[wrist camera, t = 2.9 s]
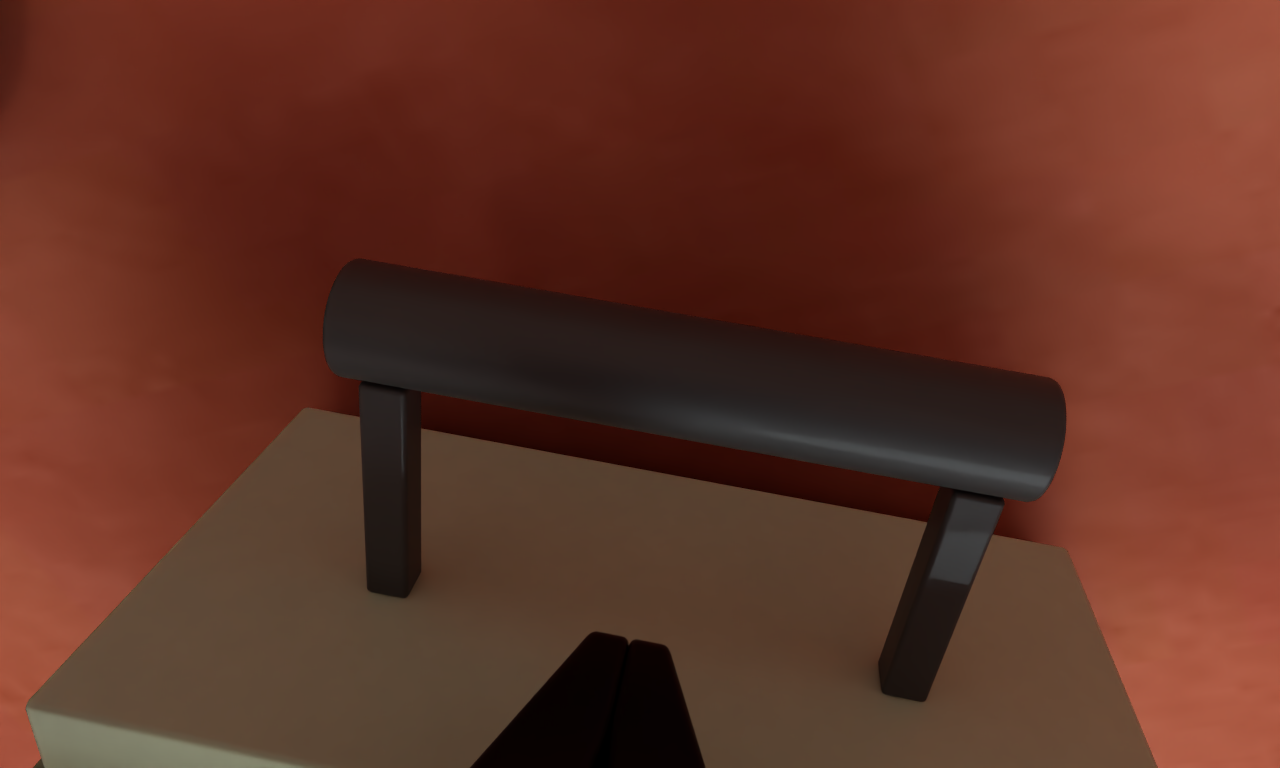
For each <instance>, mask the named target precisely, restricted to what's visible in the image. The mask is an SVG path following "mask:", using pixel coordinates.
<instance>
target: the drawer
mask: <svg viewBox="0 0 1280 768" xmlns="http://www.w3.org/2000/svg"><path fill="white" fill-rule="evenodd" d="M323 348H324V355H325V359H326V362H327V364H328V367H329V368H330V370H331V371H332V372H333V373H335V374H336V375H338V376H340V377H345V378H350V379H356V380H361V381H362V382H361V383H360V385H359V409H360V417H357V416H352V415H346V414H341V413H336V412H330V411H325V410H319V409H314V408H309V407H308V408H304V409H302V410H301V411H300V412H299V413H298V414H297V416H296V417H295V418H294V419H293V420H292V421H291V422H290V423H289V424H288V425H287V426H286V427H285V428H284V429H283V430H282V431H281V433H280V434H279V435H278V436H277V437H276V438H275V439H274V440H273V441H272V442H271V443H270V444H269V445H268V446H267V447H266V448H265V450H264V451H263V452H262V453H261V454H260V455H259V456H258V457H257V458H256V459H255V460H254V461H253V462H252V463H251V464H250V466H249V467H248V468H247V469H246V470H245V471H244V472H243V473H242V474H241V475H240V476H239V477H238V478H237V479H236V480H235V481H234V483H233V484H232V485H231V486H230V487H229V488H228V489H227V490H226V491H225V492H224V493H223V494H222V495H221V496H220V497H219V498H218V500H217V501H216V502H215V503H214V504H213V505H212V506H211V507H210V508H209V509H208V510H207V511H206V512H205V513H204V514H203V515H202V517H201V518H200V519H199V520H198V521H197V522H196V523H195V524H194V525H193V526H192V527H191V528H190V529H189V530H188V531H187V532H186V534H185V535H184V536H183V537H182V538H181V539H180V540H179V541H178V542H177V543H176V544H175V545H174V546H173V547H172V548H171V549H170V551H169V552H168V553H167V554H166V555H165V556H164V557H163V558H162V559H161V560H160V561H159V562H158V563H157V564H156V565H155V567H154V568H153V569H152V570H151V571H150V572H149V573H148V574H147V575H146V576H145V577H144V578H143V579H142V580H141V581H140V582H139V584H138V585H137V586H136V587H135V588H134V589H133V590H132V591H131V592H130V593H129V594H128V595H127V596H126V597H125V598H124V599H123V601H122V602H121V603H120V604H119V605H118V606H117V607H116V608H115V609H114V610H113V611H112V612H111V613H110V614H109V615H108V616H107V618H106V619H105V620H104V621H103V622H102V623H101V624H100V625H99V626H98V627H97V628H96V629H95V630H94V631H93V632H92V633H91V635H90V636H89V637H88V638H87V639H86V640H85V641H84V642H83V643H82V644H81V645H80V646H79V647H78V648H77V649H76V650H75V652H74V653H73V654H72V655H71V656H70V657H69V658H68V659H67V660H66V661H65V662H64V663H63V664H62V665H61V666H60V668H59V669H58V670H57V671H56V672H55V673H54V674H53V675H52V676H51V677H50V678H49V679H48V680H47V681H46V682H45V683H44V685H43V686H42V687H41V688H40V689H39V690H38V691H37V692H36V693H35V694H34V695H33V696H32V697H31V698H30V699H29V701H28V703H27V705H26V712H27V715H28V718H29V721H30V724H31V727H32V731H33V734H34V737H35V740H36V743H37V746H38V749H39V752H40V756H41V759H42V762H43V765H44V767H45V768H470V767H471V766H472V765H473V764H474V762H475V761H476V760H477V759H478V758H479V757H480V756H481V755H482V753H483V752H484V751H485V750H486V749H487V748H488V747H489V746H490V744H491V743H492V742H493V741H494V740H495V739H496V738H497V737H498V735H499V734H500V733H501V732H502V731H503V730H504V729H505V728H506V726H507V725H508V724H509V723H510V722H511V721H512V720H513V719H514V717H515V716H516V715H517V714H518V713H519V712H520V711H521V710H522V708H523V707H524V706H525V705H526V704H527V703H528V702H529V701H530V699H531V698H532V697H533V696H534V695H535V694H536V693H537V692H538V690H539V689H540V688H541V687H542V686H543V685H544V684H545V683H546V681H547V680H548V679H549V678H550V677H551V676H552V675H553V674H554V672H555V671H556V670H557V669H558V668H559V667H560V666H561V665H562V663H563V662H564V661H565V660H566V659H567V658H568V657H569V656H570V654H571V653H572V652H573V651H574V650H575V649H576V648H577V647H578V645H579V644H580V643H581V642H582V641H583V640H584V639H585V638H586V637H587V636H588V635H589V634H590V633H591V632H594V631H598V632H603V633H608V634H613V635H619V636H623V637H625V638H626V639H627V640H628V642H629V644H630V642H631V641H632V640H634V639H639V640H644V641H649V642H654V643H659V644H663V645H666V646H667V647H668V648H669V650H670V652H671V655H672V659H673V662H674V665H675V668H676V672H677V675H678V678H679V682H680V685H681V688H682V691H683V695H684V698H685V701H686V705H687V708H688V711H689V714H690V718H691V721H692V724H693V728H694V731H695V734H696V737H697V741H698V744H699V747H700V751H701V754H702V757H703V761H704V764H705V767H706V768H1158V767H1157V765H1156V762H1155V760H1154V758H1153V755H1152V753H1151V750H1150V748H1149V746H1148V743H1147V741H1146V738H1145V736H1144V734H1143V731H1142V729H1141V726H1140V724H1139V721H1138V719H1137V717H1136V714H1135V712H1134V709H1133V707H1132V705H1131V702H1130V700H1129V697H1128V695H1127V693H1126V690H1125V688H1124V685H1123V683H1122V681H1121V678H1120V676H1119V673H1118V671H1117V668H1116V666H1115V664H1114V661H1113V659H1112V656H1111V654H1110V652H1109V649H1108V647H1107V644H1106V642H1105V640H1104V637H1103V635H1102V632H1101V630H1100V628H1099V625H1098V623H1097V620H1096V618H1095V615H1094V613H1093V611H1092V608H1091V606H1090V603H1089V601H1088V599H1087V596H1086V594H1085V591H1084V589H1083V587H1082V584H1081V582H1080V579H1079V577H1078V575H1077V572H1076V570H1075V567H1074V565H1073V562H1072V560H1071V558H1070V555H1069V553H1068V551H1067V550H1066V549H1065V548H1063V547H1058V546H1052V545H1047V544H1041V543H1036V542H1031V541H1025V540H1020V539H1015V538H1009V537H1004V536H998V535H993V532H994V530H995V527H996V525H997V522H998V520H999V517H1000V515H1001V512H1002V510H1003V507H1004V505H1005V503H1004V499H1003V498H1008V499H1013V500H1018V501H1024V502H1030V501H1035V500H1037V499H1038V498H1040V497H1041V496H1042V495H1043V494H1044V493H1045V491H1046V490H1047V489H1048V487H1049V485H1050V484H1051V482H1052V480H1053V478H1054V476H1055V473H1056V471H1057V468H1058V465H1059V462H1060V459H1061V455H1062V451H1063V446H1064V441H1065V433H1066V403H1065V398H1064V394H1063V391H1062V389H1061V387H1060V385H1059V384H1058V383H1057V382H1056V381H1055V380H1053V379H1052V378H1049V377H1043V376H1038V375H1032V374H1026V373H1020V372H1014V371H1009V370H1003V369H997V368H991V367H986V366H980V365H974V364H968V363H962V362H957V361H951V360H945V359H939V358H933V357H928V356H922V355H916V354H910V353H905V352H899V351H893V350H887V349H881V348H876V347H870V346H864V345H858V344H852V343H847V342H841V341H835V340H829V339H823V338H818V337H812V336H806V335H800V334H795V333H789V332H783V331H777V330H771V329H766V328H760V327H754V326H748V325H742V324H737V323H731V322H725V321H719V320H714V319H708V318H702V317H696V316H690V315H685V314H679V313H673V312H667V311H661V310H656V309H650V308H644V307H638V306H632V305H627V304H621V303H615V302H609V301H604V300H598V299H592V298H586V297H580V296H575V295H569V294H563V293H557V292H551V291H546V290H540V289H534V288H528V287H523V286H517V285H511V284H505V283H499V282H494V281H488V280H482V279H476V278H470V277H465V276H459V275H453V274H447V273H442V272H436V271H430V270H424V269H418V268H413V267H407V266H401V265H395V264H389V263H384V262H378V261H372V260H366V259H354V260H351V261H350V262H348V263H347V264H346V265H345V266H344V267H343V268H342V269H341V271H340V272H339V274H338V275H337V277H336V279H335V281H334V283H333V286H332V288H331V291H330V294H329V297H328V301H327V305H326V310H325V315H324V323H323ZM421 391H422V392H427V393H432V394H438V395H443V396H449V397H454V398H460V399H465V400H471V401H476V402H482V403H487V404H493V405H498V406H504V407H509V408H515V409H520V410H526V411H531V412H537V413H542V414H547V415H553V416H558V417H564V418H569V419H575V420H580V421H586V422H591V423H597V424H602V425H608V426H613V427H619V428H624V429H630V430H635V431H641V432H646V433H652V434H657V435H662V436H668V437H673V438H679V439H684V440H690V441H695V442H701V443H706V444H712V445H717V446H723V447H728V448H734V449H739V450H745V451H750V452H756V453H761V454H767V455H772V456H778V457H783V458H788V459H794V460H799V461H805V462H810V463H816V464H821V465H827V466H832V467H838V468H843V469H849V470H854V471H860V472H865V473H871V474H876V475H882V476H887V477H893V478H898V479H903V480H909V481H914V482H920V483H925V484H931V485H936V486H940V488H939V491H938V494H937V496H936V499H935V502H934V505H933V508H932V511H931V513H930V516H929V519H928V522H923V521H918V520H912V519H907V518H901V517H896V516H891V515H885V514H880V513H874V512H869V511H864V510H858V509H853V508H847V507H842V506H837V505H831V504H826V503H821V502H815V501H810V500H804V499H799V498H794V497H788V496H783V495H777V494H772V493H767V492H761V491H756V490H750V489H745V488H740V487H734V486H729V485H724V484H718V483H713V482H707V481H702V480H697V479H691V478H686V477H680V476H675V475H670V474H664V473H659V472H653V471H648V470H643V469H637V468H632V467H627V466H621V465H616V464H610V463H605V462H600V461H594V460H589V459H583V458H578V457H573V456H567V455H562V454H556V453H551V452H546V451H540V450H535V449H530V448H524V447H519V446H513V445H508V444H503V443H497V442H492V441H486V440H481V439H476V438H470V437H465V436H459V435H454V434H449V433H443V432H438V431H433V430H427V429H422V428H421Z"/></svg>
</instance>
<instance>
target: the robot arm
mask: <svg viewBox="0 0 1280 768" xmlns="http://www.w3.org/2000/svg"><path fill="white" fill-rule="evenodd" d="M470 768H706V767H705V764H704V761H703V757H702V754H701V751H700V747H699V744H698V741H697V737H696V734H695V731H694V728H693V724H692V721H691V718H690V714H689V711H688V708H687V705H686V701H685V698H684V695H683V691H682V688H681V685H680V682H679V678H678V675H677V672H676V668H675V665H674V662H673V659H672V655H671V652H670V650H669V648H668V647H667V646H666V645H663V644H659V643H654V642H649V641H644V640H639V639H634V640H632V641H631V642H630V644H629V642H628V640H627V639H626V638H625V637H623V636H619V635H613V634H608V633H603V632H598V631H594V632H591V633H590V634H589V635H588V636H587V637H586V638H585V639H584V640H583V641H582V642H581V643H580V644H579V645H578V647H577V648H576V649H575V650H574V651H573V652H572V653H571V654H570V656H569V657H568V658H567V659H566V660H565V661H564V662H563V663H562V665H561V666H560V667H559V668H558V669H557V670H556V671H555V672H554V674H553V675H552V676H551V677H550V678H549V679H548V680H547V681H546V683H545V684H544V685H543V686H542V687H541V688H540V689H539V690H538V692H537V693H536V694H535V695H534V696H533V697H532V698H531V699H530V701H529V702H528V703H527V704H526V705H525V706H524V707H523V708H522V710H521V711H520V712H519V713H518V714H517V715H516V716H515V717H514V719H513V720H512V721H511V722H510V723H509V724H508V725H507V726H506V728H505V729H504V730H503V731H502V732H501V733H500V734H499V735H498V737H497V738H496V739H495V740H494V741H493V742H492V743H491V744H490V746H489V747H488V748H487V749H486V750H485V751H484V752H483V753H482V755H481V756H480V757H479V758H478V759H477V760H476V761H475V762H474V764H473V765H472V766H471V767H470Z"/></svg>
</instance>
